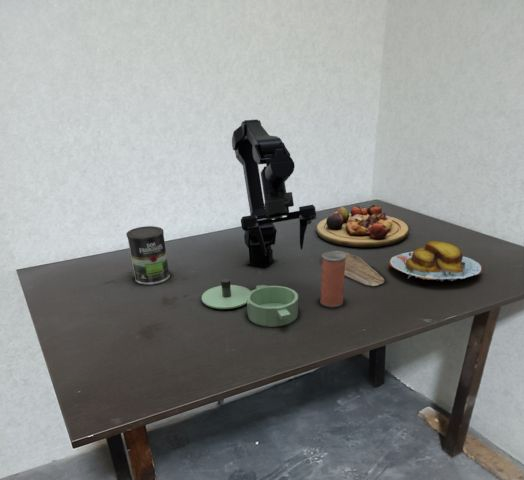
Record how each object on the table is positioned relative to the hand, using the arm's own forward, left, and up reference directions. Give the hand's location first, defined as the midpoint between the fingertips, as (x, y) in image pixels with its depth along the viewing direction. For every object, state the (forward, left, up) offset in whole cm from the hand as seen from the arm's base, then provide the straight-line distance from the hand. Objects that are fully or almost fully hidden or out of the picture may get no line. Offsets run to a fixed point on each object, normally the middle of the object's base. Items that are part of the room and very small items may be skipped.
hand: (283, 252), depth 122 cm
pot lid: (-14, -6, -12) cm, 20 cm away
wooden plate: (+4, +58, -13) cm, 59 cm away
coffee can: (-42, -2, -13) cm, 44 cm away
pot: (+1, -9, -13) cm, 16 cm away
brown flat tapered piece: (+11, +26, -13) cm, 31 cm away
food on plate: (+33, +33, -13) cm, 48 cm away
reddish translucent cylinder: (+12, +3, -13) cm, 18 cm away
